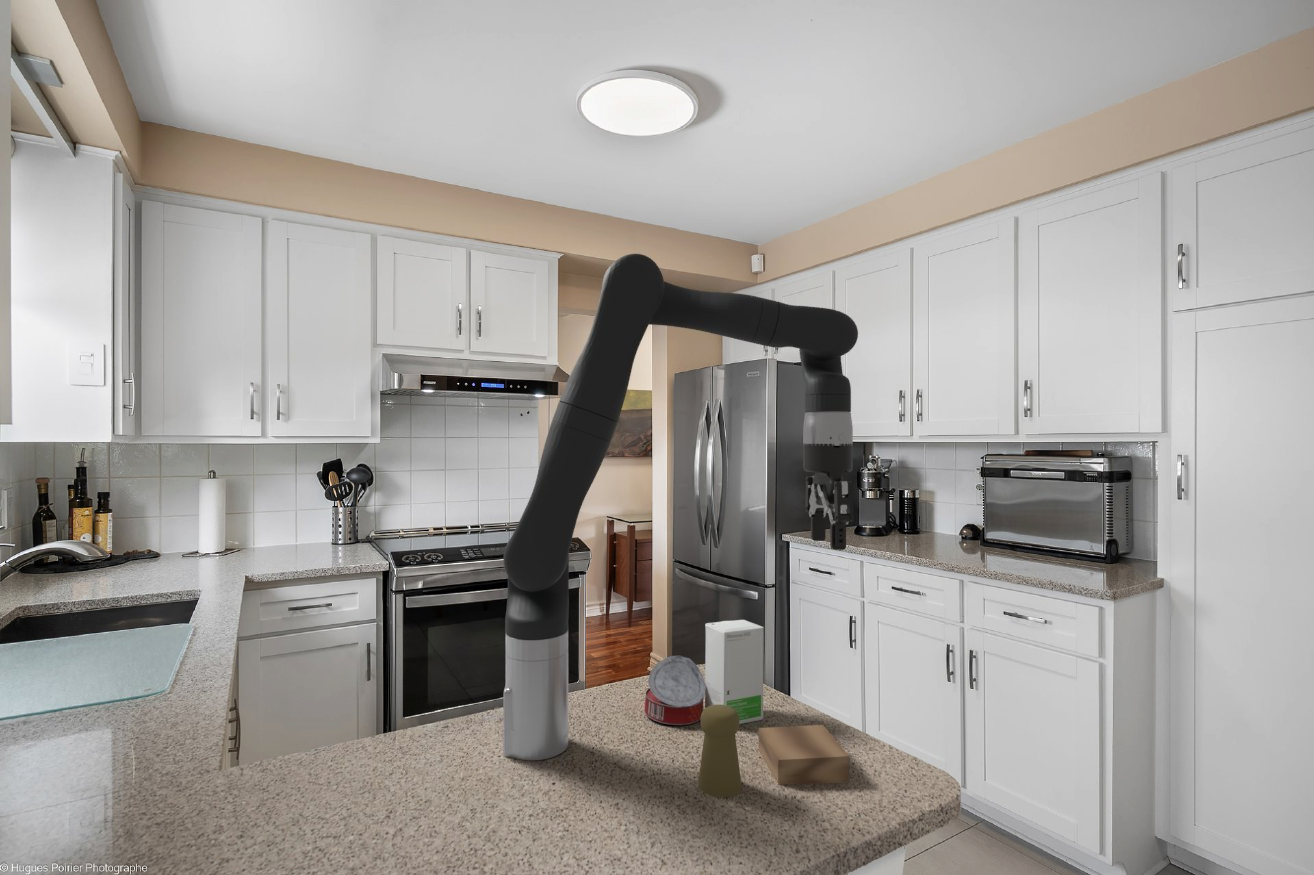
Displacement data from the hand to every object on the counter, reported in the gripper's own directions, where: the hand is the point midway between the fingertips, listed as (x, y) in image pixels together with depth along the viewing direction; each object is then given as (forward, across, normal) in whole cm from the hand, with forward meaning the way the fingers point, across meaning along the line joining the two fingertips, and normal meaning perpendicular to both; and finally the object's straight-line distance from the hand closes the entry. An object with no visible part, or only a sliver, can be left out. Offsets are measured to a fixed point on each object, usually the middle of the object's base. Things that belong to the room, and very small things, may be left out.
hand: (827, 544), depth 105 cm
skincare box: (+31, -10, -13) cm, 35 cm away
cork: (+31, +13, -20) cm, 39 cm away
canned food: (+31, -12, -25) cm, 42 cm away
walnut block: (+31, +8, -7) cm, 33 cm away
